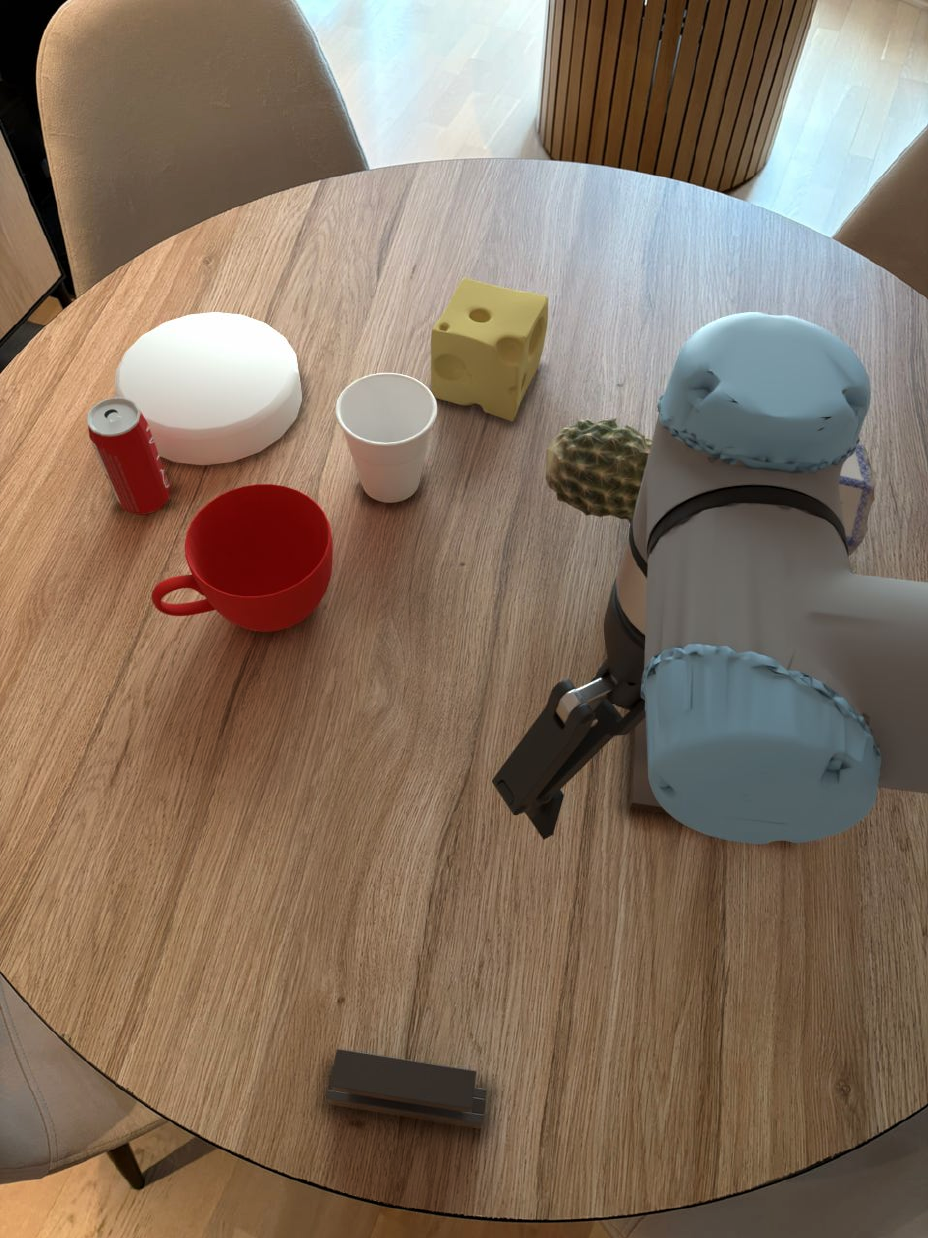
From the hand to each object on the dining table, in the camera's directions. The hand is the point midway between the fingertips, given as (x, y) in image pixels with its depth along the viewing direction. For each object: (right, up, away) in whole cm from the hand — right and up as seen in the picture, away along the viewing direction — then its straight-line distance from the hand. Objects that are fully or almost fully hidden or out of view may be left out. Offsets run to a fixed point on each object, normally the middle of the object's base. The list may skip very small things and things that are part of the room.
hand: (619, 773), depth 66 cm
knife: (-15, -24, +4) cm, 29 cm away
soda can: (-44, +23, +34) cm, 60 cm away
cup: (-19, +25, +36) cm, 48 cm away
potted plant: (+12, +19, +33) cm, 39 cm away
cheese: (-8, +38, +45) cm, 59 cm away
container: (-39, +35, +42) cm, 67 cm away
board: (+12, +2, +21) cm, 25 cm away
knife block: (-15, -24, +4) cm, 29 cm away
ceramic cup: (-31, +12, +27) cm, 43 cm away
